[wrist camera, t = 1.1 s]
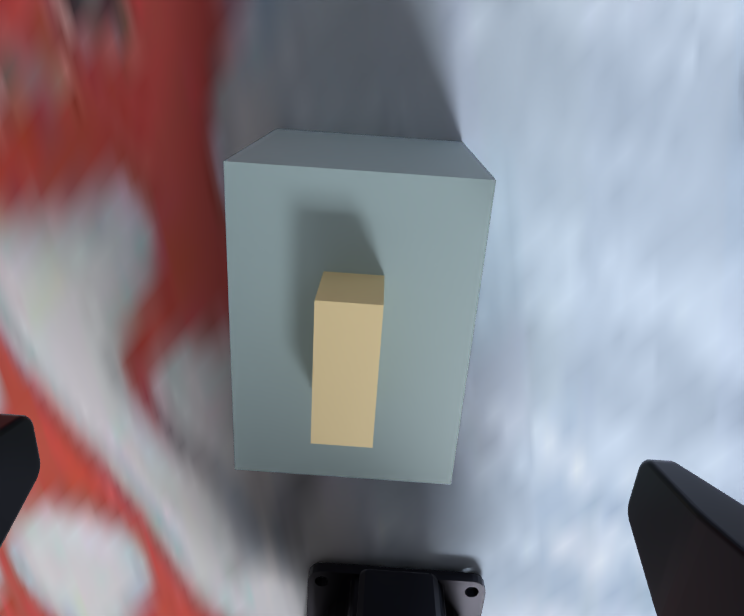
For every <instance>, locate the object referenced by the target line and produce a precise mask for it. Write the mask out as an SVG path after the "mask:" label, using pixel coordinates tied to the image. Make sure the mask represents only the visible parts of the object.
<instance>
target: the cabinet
mask: <svg viewBox="0 0 744 616" xmlns="http://www.w3.org/2000/svg"><path fill="white" fill-rule="evenodd" d="M223 162H224V189H225V216H226V243H227V271H228V298H229V325H230V352H231V380H232V407H233V434H234V461H235V470H249V471H264V472H278V473H292V474H306V475H320V476H334V477H348V478H363V479H377V480H391V481H405V482H419V483H433V484H447V485H451V481H452V474H453V468H454V461H455V454H456V447H457V440H458V434H459V427H460V420H461V413H462V407H463V400H464V393H465V386H466V380H467V373H468V366H469V359H470V353H471V346H472V339H473V332H474V326H475V319H476V312H477V305H478V299H479V292H480V285H481V278H482V272H483V265H484V258H485V251H486V245H487V238H488V231H489V224H490V218H491V211H492V204H493V197H494V191H495V184H496V180H495V178H494V177H493V176H492V175H491V174H490V173H489V172H488V170H487V169H486V168H485V167H484V166H483V165H482V164H481V163H480V161H479V160H478V159H477V158H476V157H475V156H474V155H473V153H472V152H471V151H470V150H469V149H468V148H467V147H466V145H465V144H464V143H463V142H460V141H445V140H431V139H417V138H402V137H388V136H374V135H360V134H345V133H331V132H317V131H303V130H288V129H275V130H274V131H272V132H270V133H269V134H267V135H266V136H264V137H262V138H261V139H259V140H257V141H256V142H254V143H252V144H251V145H249V146H247V147H246V148H244V149H243V150H241V151H239V152H238V153H236V154H234V155H233V156H231V157H229V158H228V159H226V160H225V161H223Z"/></svg>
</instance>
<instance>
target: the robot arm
mask: <svg viewBox="0 0 744 616" xmlns="http://www.w3.org/2000/svg"><path fill="white" fill-rule="evenodd" d="M39 470H40V458H39V453H38V447H37V442H36V437H35V432H34V427H33V423H32V421H31V420H30V418H28V417H27V416H25V415H13V414H0V547H1V545H2V543H3V541H4V540H5V538H6V536H7V534H8V532H9V530H10V528H11V526H12V525H13V523H14V521H15V519H16V517H17V515H18V513H19V511H20V509H21V508H22V506H23V504H24V502H25V500H26V498H27V496H28V494H29V492H30V491H31V489H32V487H33V485H34V483H35V481H36V479H37V477H38V474H39ZM628 517H629V522H630V525H631V529H632V532H633V536H634V539H635V542H636V546H637V549H638V553H639V556H640V560H641V563H642V566H643V570H644V573H645V577H646V580H647V584H648V587H649V590H650V594H651V597H652V601H653V604H654V607H655V610H656V613H657V616H744V505H742V504H741V503H739V502H737V501H736V500H734V499H733V498H731V497H729V496H728V495H726V494H725V493H723V492H721V491H720V490H718V489H717V488H715V487H714V486H712V485H710V484H709V483H707V482H706V481H704V480H702V479H701V478H699V477H698V476H696V475H694V474H693V473H691V472H690V471H688V470H687V469H685V468H683V467H682V466H680V465H679V464H677V463H675V462H672V461H663V460H646V461H644V462H642V464H641V465H640V467H639V470H638V473H637V477H636V480H635V483H634V487H633V490H632V493H631V497H630V500H629V504H628ZM319 576H323V577H324V578H322V577H319ZM469 587H473V588H469ZM484 598H485V586H484V580H483V579H482V577H481V576H479V575H478V574H474V573H464V572H449V571H435V570H421V569H407V568H393V567H379V566H365V565H351V564H337V563H317V564H314V565H313V566H312V567H311V568H310V571H309V578H308V600H307V616H481V613H482V608H483V603H484Z"/></svg>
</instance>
